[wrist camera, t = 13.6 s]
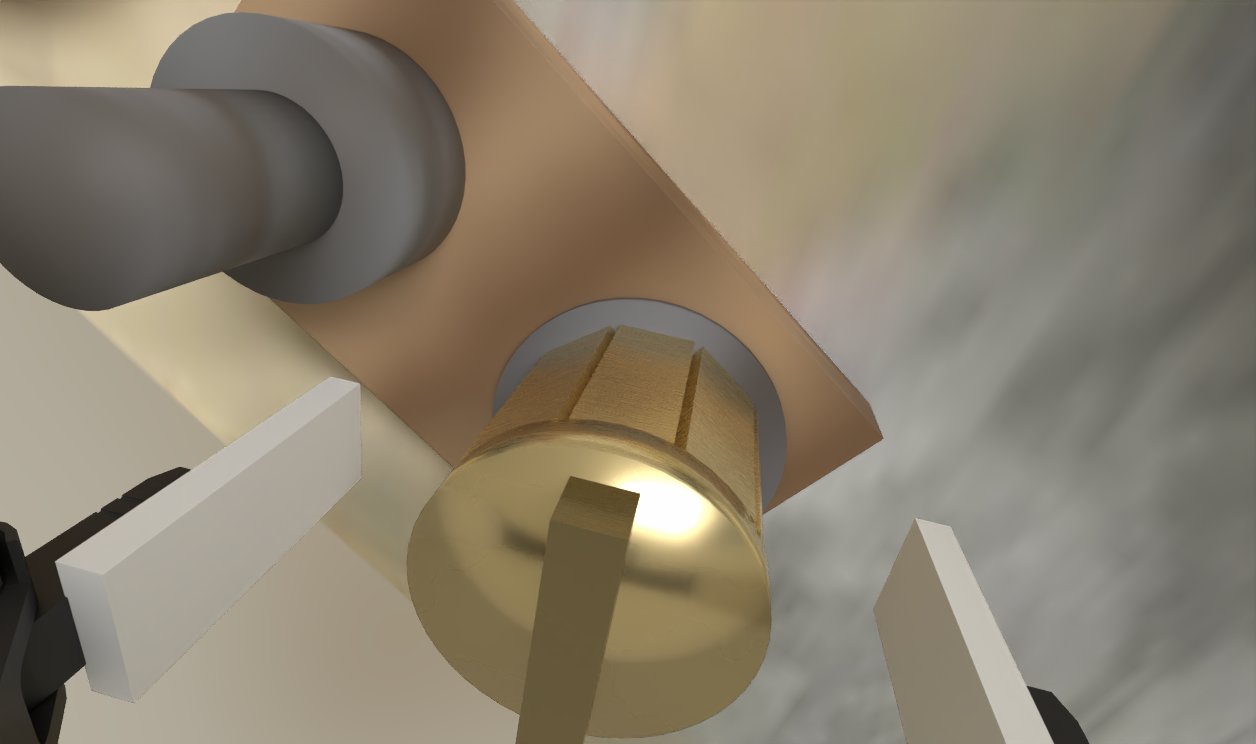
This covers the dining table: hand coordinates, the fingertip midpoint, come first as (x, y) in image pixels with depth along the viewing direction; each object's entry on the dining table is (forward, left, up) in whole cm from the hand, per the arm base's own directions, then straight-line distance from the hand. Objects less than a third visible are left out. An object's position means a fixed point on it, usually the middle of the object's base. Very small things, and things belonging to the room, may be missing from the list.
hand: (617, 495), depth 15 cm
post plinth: (-4, -3, -5) cm, 7 cm away
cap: (0, 0, -2) cm, 2 cm away
